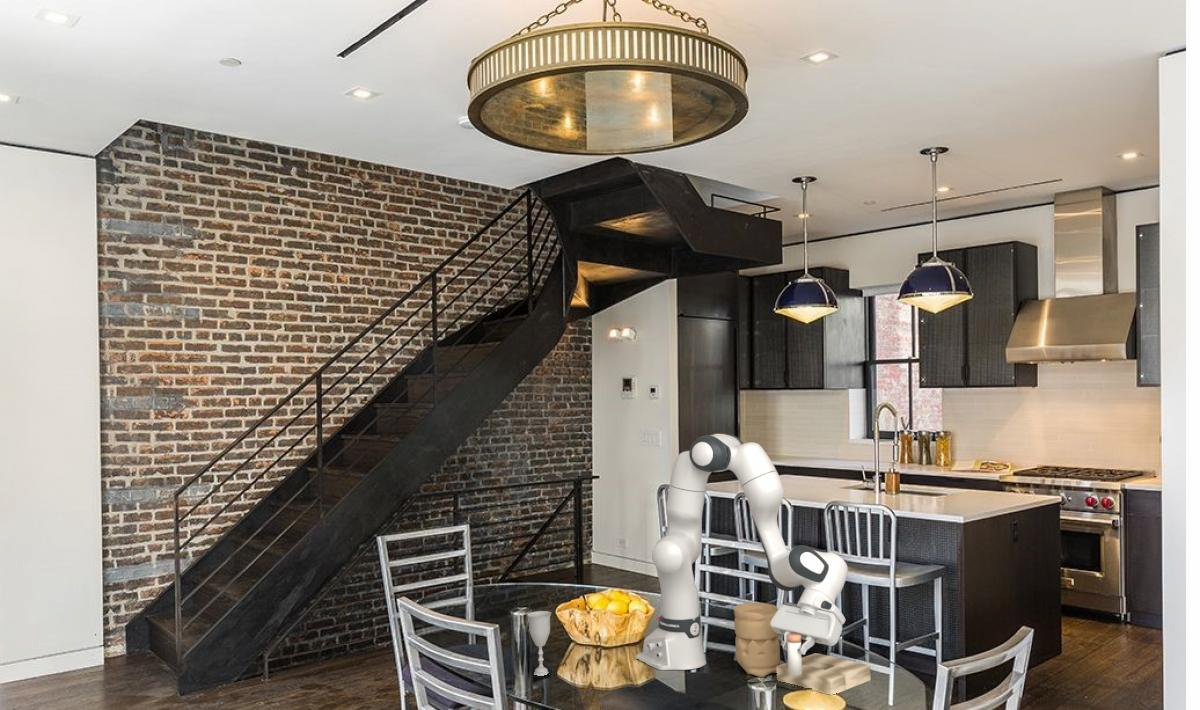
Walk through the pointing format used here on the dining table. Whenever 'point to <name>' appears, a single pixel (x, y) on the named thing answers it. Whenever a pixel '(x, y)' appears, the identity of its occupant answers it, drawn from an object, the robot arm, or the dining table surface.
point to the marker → (794, 654)
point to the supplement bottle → (816, 647)
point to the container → (756, 638)
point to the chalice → (539, 635)
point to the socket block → (826, 673)
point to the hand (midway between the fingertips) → (793, 651)
